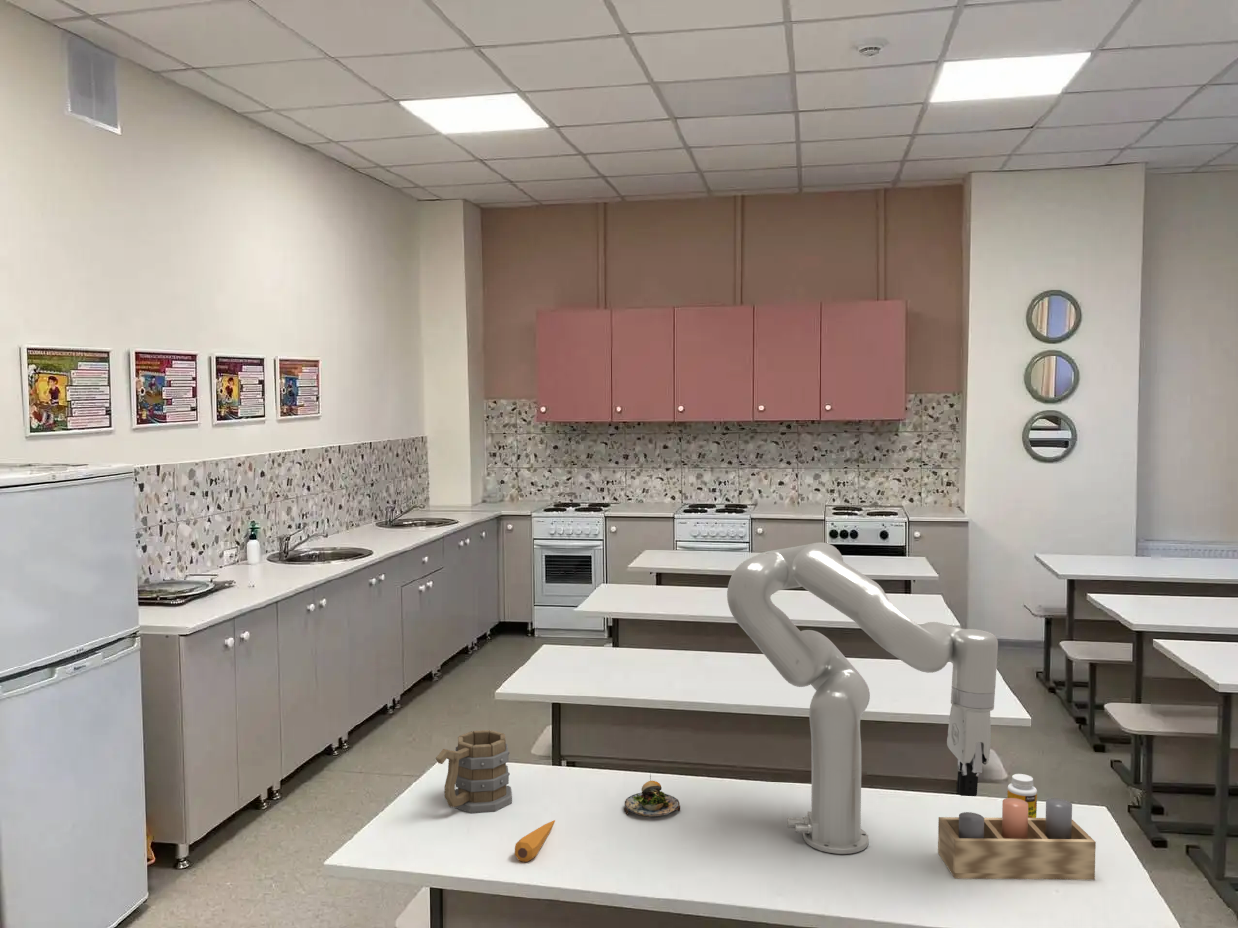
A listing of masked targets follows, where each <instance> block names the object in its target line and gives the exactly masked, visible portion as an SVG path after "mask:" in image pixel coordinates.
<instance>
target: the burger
mask: <svg viewBox="0 0 1238 928" xmlns="http://www.w3.org/2000/svg"><path fill="white" fill-rule="evenodd" d="M651 777H652V775H651V774H650V775H649V778H650V779H649V780H648V781H646V782H645V783H644V784H643V785H642V786H641V792H639V793H634V794H631V795H630V796H628V797H627V798H626V799H625V800H624V808H623V811H624V813H625V815H627V816H628V815H629V812H630V813H633V814H636V815H639V816H642V817H643V816H644V817H662V816H665V815H669V814H670V813H673V812H675V811H678V812H681V805H680V801H679V799H678V798H676V797H675V796H674V795H673V796H672V795H670V794H668V793H665V792H663V791H662V785H661V783H660V782H659V781H656V780H652V779H651Z"/></svg>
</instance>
